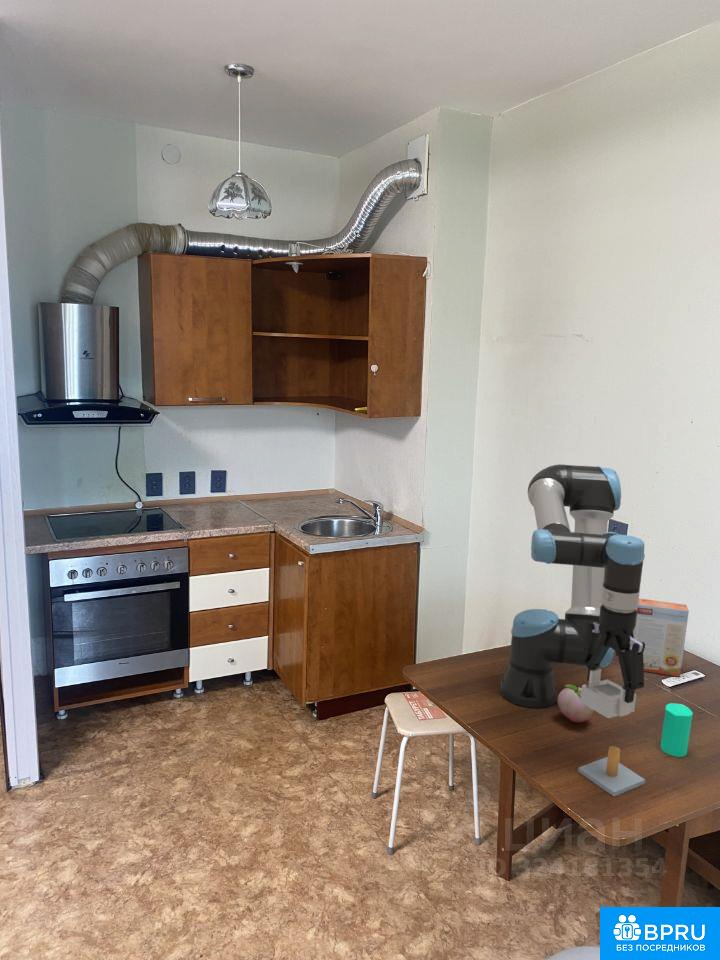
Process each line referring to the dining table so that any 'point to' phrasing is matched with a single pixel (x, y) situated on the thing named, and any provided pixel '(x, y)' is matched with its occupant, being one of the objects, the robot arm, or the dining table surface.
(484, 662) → the dining table surface
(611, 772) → the keeper
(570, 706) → the decorative fruit
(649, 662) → the cracker box
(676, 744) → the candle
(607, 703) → the gray square frame
